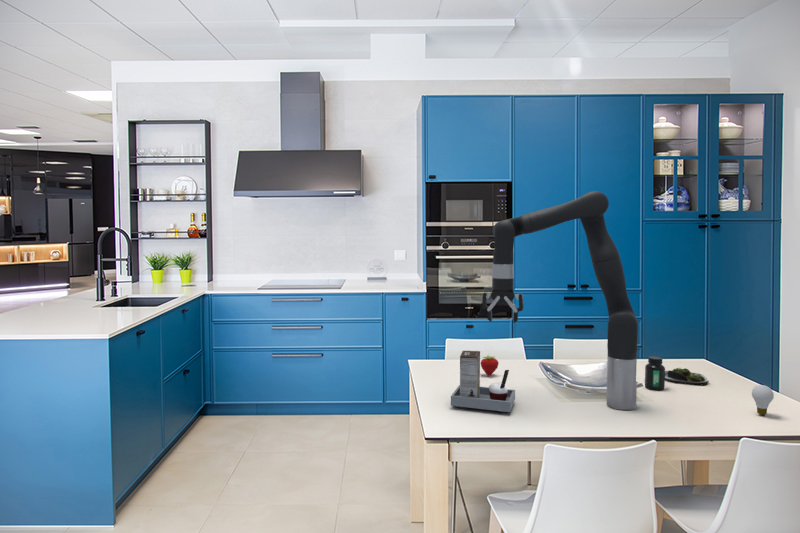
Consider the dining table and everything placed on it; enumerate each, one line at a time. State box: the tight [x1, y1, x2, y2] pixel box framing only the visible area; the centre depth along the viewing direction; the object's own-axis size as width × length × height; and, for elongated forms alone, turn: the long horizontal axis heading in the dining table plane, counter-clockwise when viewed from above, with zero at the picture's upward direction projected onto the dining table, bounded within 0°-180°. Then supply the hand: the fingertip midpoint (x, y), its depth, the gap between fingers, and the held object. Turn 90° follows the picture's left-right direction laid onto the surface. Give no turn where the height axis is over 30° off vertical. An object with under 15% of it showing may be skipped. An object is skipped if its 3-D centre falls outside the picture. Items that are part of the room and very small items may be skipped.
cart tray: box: [450, 384, 516, 414], centre depth 177 cm, size 20×14×4 cm
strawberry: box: [480, 353, 499, 377], centre depth 214 cm, size 6×8×10 cm
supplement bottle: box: [644, 356, 666, 392], centre depth 196 cm, size 7×7×12 cm
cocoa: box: [488, 369, 510, 401], centre depth 175 cm, size 10×6×12 cm, turn 3°
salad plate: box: [665, 367, 709, 386], centre depth 211 cm, size 19×18×5 cm
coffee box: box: [459, 350, 481, 398], centre depth 178 cm, size 9×6×16 cm
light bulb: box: [751, 384, 775, 416], centre depth 167 cm, size 6×6×10 cm
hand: (502, 322), depth 182 cm, fingers open, 8 cm apart
